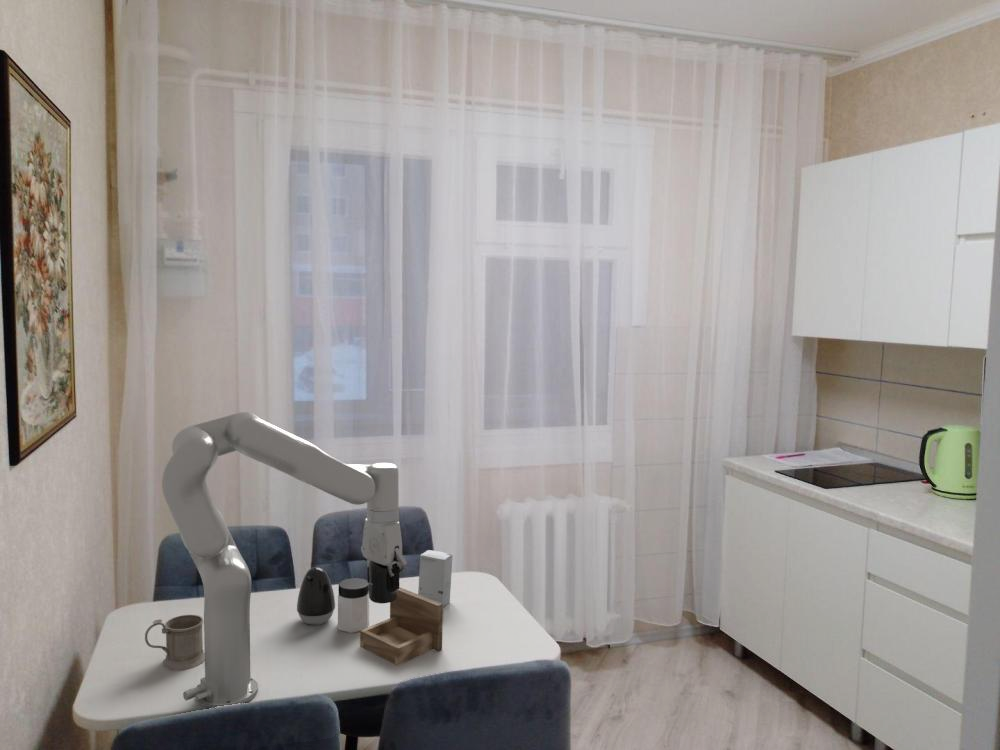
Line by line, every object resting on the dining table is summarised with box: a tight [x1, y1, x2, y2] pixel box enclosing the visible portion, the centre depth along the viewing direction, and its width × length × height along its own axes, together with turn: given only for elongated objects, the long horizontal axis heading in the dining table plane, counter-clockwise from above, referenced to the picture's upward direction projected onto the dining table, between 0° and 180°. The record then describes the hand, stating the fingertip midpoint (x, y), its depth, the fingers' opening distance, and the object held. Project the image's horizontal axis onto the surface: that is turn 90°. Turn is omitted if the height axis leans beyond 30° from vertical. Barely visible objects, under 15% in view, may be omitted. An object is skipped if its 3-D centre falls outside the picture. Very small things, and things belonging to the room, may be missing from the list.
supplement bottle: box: [369, 560, 397, 604], centre depth 181 cm, size 7×7×12 cm
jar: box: [337, 577, 370, 634], centre depth 202 cm, size 9×8×12 cm
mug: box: [144, 614, 205, 671], centre depth 179 cm, size 14×10×12 cm
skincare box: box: [417, 549, 454, 608], centre depth 218 cm, size 8×6×15 cm
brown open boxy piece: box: [359, 586, 444, 667], centre depth 190 cm, size 13×18×12 cm
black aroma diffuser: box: [296, 566, 336, 626], centre depth 204 cm, size 10×10×15 cm
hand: (383, 585), depth 182 cm, fingers closed on supplement bottle, 6 cm apart
